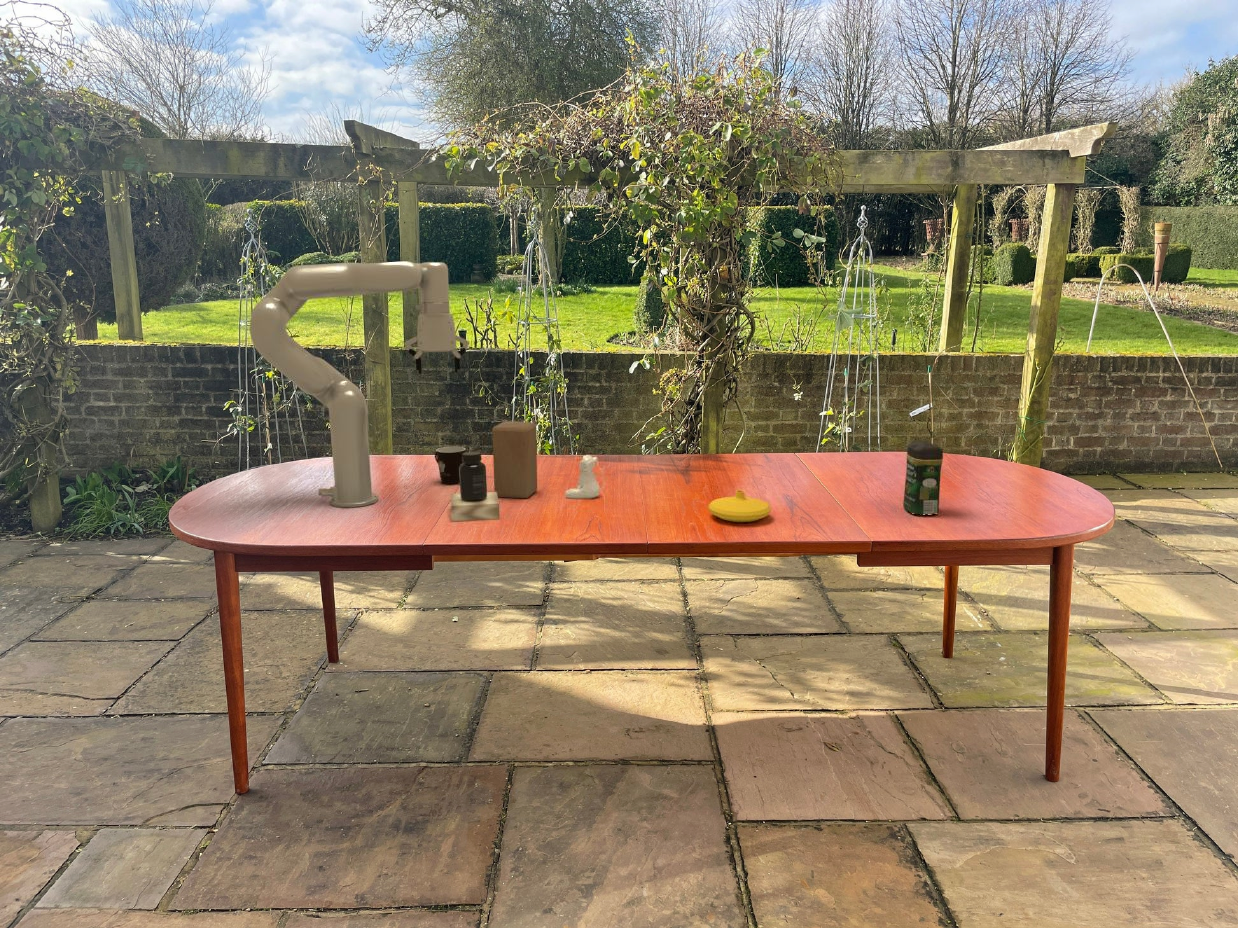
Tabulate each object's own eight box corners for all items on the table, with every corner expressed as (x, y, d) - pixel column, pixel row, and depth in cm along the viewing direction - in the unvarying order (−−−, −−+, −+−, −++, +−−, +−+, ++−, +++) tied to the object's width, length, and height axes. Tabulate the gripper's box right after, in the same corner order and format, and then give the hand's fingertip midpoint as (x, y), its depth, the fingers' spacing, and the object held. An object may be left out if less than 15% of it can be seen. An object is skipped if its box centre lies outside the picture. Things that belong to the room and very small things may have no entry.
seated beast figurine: (582, 490, 246) (582, 449, 243) (608, 494, 241) (607, 452, 239) (563, 498, 238) (563, 455, 235) (589, 502, 234) (589, 459, 231)
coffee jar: (898, 507, 228) (903, 438, 224) (928, 506, 228) (933, 438, 224) (911, 517, 219) (917, 446, 214) (942, 517, 219) (948, 445, 215)
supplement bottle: (488, 495, 225) (487, 450, 222) (485, 502, 218) (483, 455, 216) (462, 495, 225) (460, 450, 222) (458, 502, 218) (456, 456, 215)
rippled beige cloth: (451, 521, 216) (450, 505, 215) (451, 508, 227) (450, 494, 226) (499, 518, 218) (499, 503, 217) (497, 506, 229) (496, 491, 228)
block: (527, 499, 236) (526, 428, 232) (493, 497, 238) (490, 426, 234) (538, 490, 246) (536, 421, 241) (505, 488, 248) (503, 420, 243)
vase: (722, 529, 209) (723, 501, 207) (698, 512, 224) (699, 486, 222) (781, 524, 213) (782, 496, 212) (754, 507, 228) (755, 482, 226)
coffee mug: (469, 484, 253) (468, 451, 251) (440, 486, 250) (438, 453, 248) (461, 475, 264) (460, 443, 261) (433, 478, 261) (431, 446, 258)
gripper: (401, 310, 226) (405, 375, 229) (468, 309, 229) (470, 373, 232) (403, 309, 233) (406, 372, 237) (467, 308, 236) (470, 370, 240)
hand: (438, 372), depth 234 cm, fingers open, 9 cm apart
